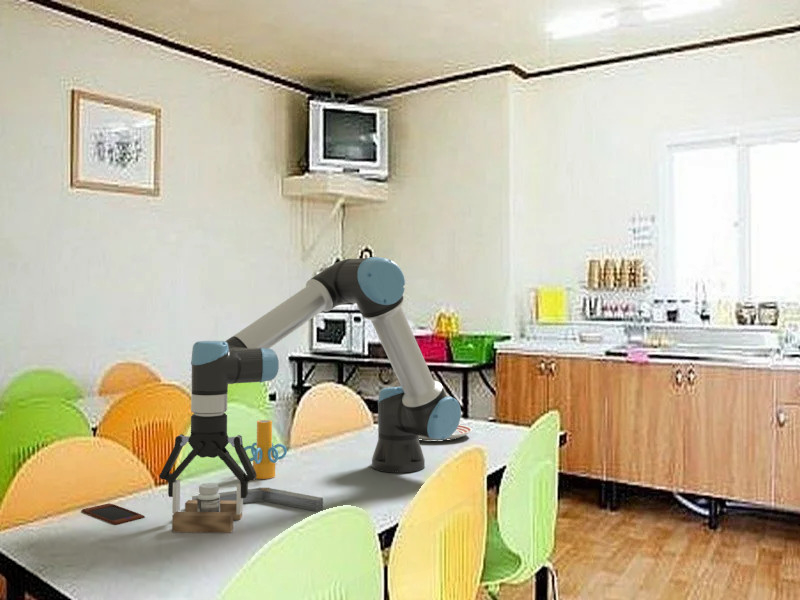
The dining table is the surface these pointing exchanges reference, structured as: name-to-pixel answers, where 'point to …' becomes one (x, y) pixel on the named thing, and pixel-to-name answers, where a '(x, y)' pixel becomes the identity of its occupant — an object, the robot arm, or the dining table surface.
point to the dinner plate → (460, 428)
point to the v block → (276, 498)
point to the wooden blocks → (205, 518)
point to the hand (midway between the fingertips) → (207, 512)
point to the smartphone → (113, 514)
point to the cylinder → (265, 451)
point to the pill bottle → (208, 498)
